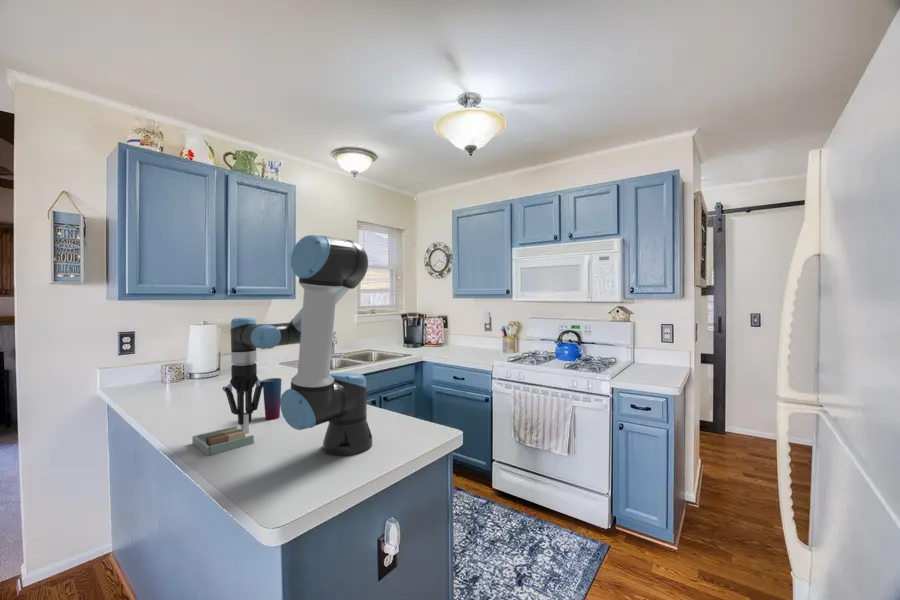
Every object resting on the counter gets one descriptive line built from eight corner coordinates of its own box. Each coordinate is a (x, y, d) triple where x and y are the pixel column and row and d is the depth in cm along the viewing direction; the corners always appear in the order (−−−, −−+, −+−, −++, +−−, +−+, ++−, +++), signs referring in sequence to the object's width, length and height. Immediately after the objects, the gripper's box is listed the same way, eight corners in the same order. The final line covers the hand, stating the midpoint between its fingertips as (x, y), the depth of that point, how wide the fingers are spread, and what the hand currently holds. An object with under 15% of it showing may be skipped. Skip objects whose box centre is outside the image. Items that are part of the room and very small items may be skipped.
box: (253, 443, 124) (253, 435, 124) (207, 456, 114) (207, 447, 114) (236, 432, 134) (236, 425, 134) (192, 443, 124) (192, 436, 124)
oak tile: (245, 440, 127) (245, 431, 127) (228, 445, 123) (228, 435, 123) (239, 437, 130) (239, 428, 130) (223, 441, 127) (223, 432, 127)
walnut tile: (228, 444, 123) (228, 435, 123) (210, 449, 120) (210, 440, 120) (222, 441, 127) (222, 432, 127) (205, 445, 123) (205, 436, 123)
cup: (274, 421, 146) (274, 382, 146) (258, 420, 147) (258, 381, 147) (285, 415, 153) (285, 378, 152) (270, 414, 154) (270, 377, 154)
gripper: (259, 359, 136) (260, 425, 136) (218, 364, 126) (219, 435, 127) (268, 362, 131) (269, 430, 131) (227, 367, 121) (227, 441, 122)
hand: (244, 432), depth 129 cm, fingers closed
